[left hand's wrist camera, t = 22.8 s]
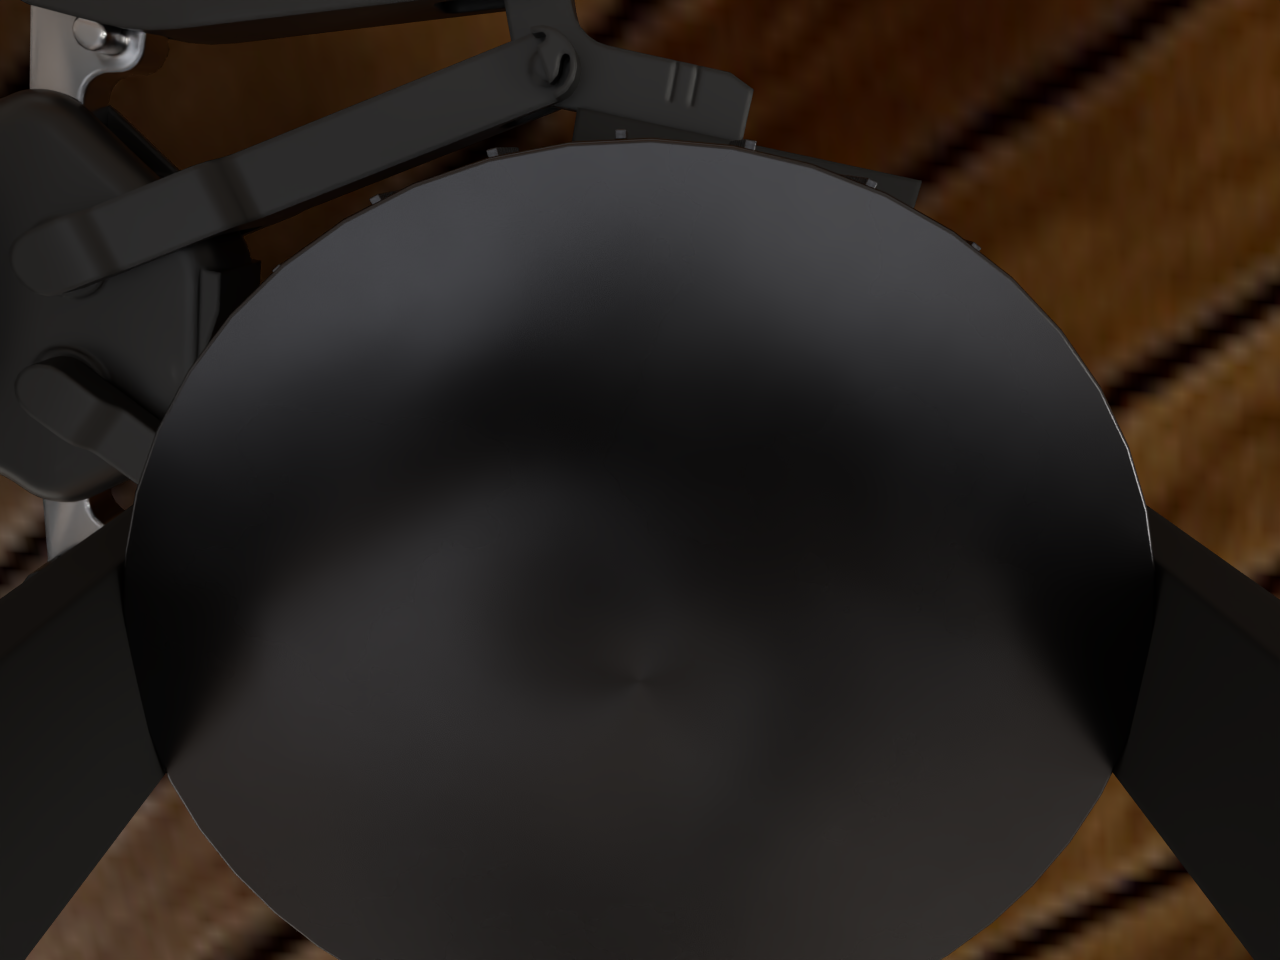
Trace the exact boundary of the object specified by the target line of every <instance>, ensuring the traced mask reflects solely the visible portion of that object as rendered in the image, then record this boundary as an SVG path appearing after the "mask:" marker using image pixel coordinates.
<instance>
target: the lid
mask: <svg viewBox="0 0 1280 960" xmlns="http://www.w3.org/2000/svg"><path fill="white" fill-rule="evenodd" d="M756 143H757V142H756V141H753V140H748V139H742V140H730V142H729V145H726V144H715V143H704V142H693V141H682V140H671V139H660V138H635V139H629V135H628V131H627V130H626V129H616V130H615V140H595V141H575V142H565V143H560V144H555V145H550V146H545V147H540V148H534V149H529V150H524V151H519V149H518V147H496V148H492V149H488V150H486V152H487V155H488V158H485V159H482V160H479V161H477V162H474V163H471V164H468V165H465V166H462V167H459V168H456V169H453V170H451V171H448V172H445V173H442V174H439V175H436V176H433V177H430V178H427V179H424V180H422V181H419V182H416V183H413V184H411V185H409V186H407V187H405V188H403V189H401V190H398V191H393V192H387V193H382V194H377V195H375V196H373V197H372V198H370V199H369V200H370V202H371V203H372V205H370V206H368V207H366V208H364V209H363V210H361V211H359V212H357V213H355V214H353V215H351V216H349V217H347V218H345V219H343V220H342V221H341V222H339V223H338V224H336V225H335V226H334V227H332V228H331V229H329V230H328V231H327V232H325V233H324V234H322V235H321V236H320V237H318V238H317V239H316V240H314V241H313V242H311V243H310V244H309V245H307V246H306V247H304V248H303V249H302V250H300V251H299V252H297V253H296V254H295V255H293V256H292V257H290V258H289V259H288V260H286V261H285V262H284V263H282V264H279V265H278V266H276V267H275V268H274V269H273V270H272V271H273V273H272V274H271V275H270V276H269V277H268V278H267V279H266V280H265V281H264V282H263V283H262V284H261V285H260V286H259V287H258V288H257V289H256V290H255V291H254V292H253V293H252V294H251V295H249V296H248V297H247V298H246V299H245V300H244V301H243V302H242V303H241V304H240V305H239V306H238V307H237V308H236V309H235V310H234V311H233V312H232V313H231V314H230V315H229V317H228V318H227V319H226V321H225V322H224V323H223V325H222V326H221V327H220V329H219V330H218V331H217V333H216V334H215V335H214V337H213V338H212V339H211V341H210V342H209V343H208V345H207V346H206V347H205V349H204V350H203V351H202V353H201V354H200V355H199V357H198V358H197V359H196V361H195V362H194V363H193V365H192V366H191V367H190V369H189V370H188V372H187V374H186V376H185V377H184V379H183V381H182V383H181V385H180V387H179V389H178V391H177V393H176V394H175V396H174V398H173V400H172V402H171V404H170V406H169V408H168V409H167V411H166V413H165V415H164V417H163V419H162V421H161V423H160V425H159V426H158V428H157V431H156V434H155V437H154V439H153V442H152V445H151V448H150V451H149V454H148V457H147V460H146V463H145V466H144V468H143V471H142V474H141V477H140V480H139V483H138V486H137V489H136V493H135V498H134V504H133V510H132V515H131V521H130V526H129V532H128V538H127V543H126V549H125V565H124V613H123V614H124V622H125V628H126V633H127V638H128V643H129V648H130V653H131V658H132V662H133V666H134V671H135V675H136V680H137V684H138V688H139V693H140V697H141V702H142V706H143V710H144V714H145V718H146V723H147V727H148V731H149V734H150V737H151V739H152V741H153V744H154V746H155V748H156V750H157V753H158V755H159V757H160V759H161V762H162V764H163V766H164V769H165V771H166V773H167V775H168V778H169V780H170V782H171V783H172V785H173V787H174V788H175V790H176V792H177V793H178V795H179V797H180V798H181V800H182V802H183V803H184V805H185V806H186V808H187V810H188V811H189V813H190V815H191V816H192V818H193V820H194V821H195V823H196V824H197V826H198V828H199V829H200V831H201V832H202V833H203V834H204V836H205V837H206V838H207V839H208V841H209V842H210V843H211V844H212V846H213V847H214V848H215V849H216V851H217V852H218V853H219V854H220V856H221V857H222V858H223V859H224V861H225V862H226V863H227V864H228V866H229V867H230V868H231V869H232V871H233V872H234V873H235V874H236V875H237V876H238V877H239V878H240V879H241V880H242V881H243V882H244V883H245V884H246V885H247V886H248V887H249V888H250V889H251V890H252V891H253V892H254V893H255V894H256V895H257V896H258V897H259V898H260V899H261V900H262V901H263V902H264V903H265V904H266V905H267V906H268V907H269V908H270V909H271V910H272V911H273V912H274V913H276V914H277V915H278V916H280V917H281V918H282V919H283V920H285V921H286V922H287V923H289V924H290V925H291V926H292V927H294V928H295V929H296V930H297V931H299V932H300V933H301V934H303V935H304V936H305V937H306V938H308V939H309V940H310V941H312V942H313V943H314V944H315V945H317V946H318V947H319V948H321V949H323V950H324V951H326V952H328V953H329V954H331V955H332V956H334V957H336V958H337V959H339V960H941V959H942V958H944V957H946V956H948V955H949V954H950V953H952V952H953V951H954V950H956V949H957V948H959V947H960V946H961V945H963V944H964V943H965V942H967V941H968V940H969V939H971V938H972V937H974V936H975V935H976V934H978V933H979V932H980V931H982V930H983V929H985V928H986V927H987V926H989V925H990V924H991V923H993V922H994V921H995V920H996V919H997V918H998V917H999V916H1000V915H1001V914H1002V913H1004V912H1005V911H1006V910H1007V909H1008V908H1009V907H1010V906H1011V905H1012V904H1013V903H1014V902H1015V901H1017V900H1018V899H1019V898H1020V897H1021V896H1022V895H1023V894H1024V893H1025V892H1026V891H1027V890H1028V889H1030V888H1031V887H1032V886H1033V885H1034V884H1035V883H1036V881H1037V880H1038V879H1039V878H1040V877H1041V876H1042V874H1043V873H1044V872H1045V871H1046V870H1047V869H1048V867H1049V866H1050V865H1051V864H1052V863H1053V862H1054V860H1055V859H1056V858H1057V857H1058V856H1059V855H1060V853H1061V852H1062V851H1063V850H1064V849H1065V848H1066V846H1067V845H1068V844H1069V843H1070V842H1071V840H1072V838H1073V837H1074V835H1075V834H1076V832H1077V831H1078V829H1079V828H1080V826H1081V825H1082V823H1083V822H1084V820H1085V819H1086V817H1087V816H1088V814H1089V813H1090V811H1091V810H1092V808H1093V807H1094V805H1095V804H1096V802H1097V801H1098V799H1099V798H1100V796H1101V794H1102V792H1103V790H1104V788H1105V786H1106V784H1107V782H1108V780H1109V778H1110V776H1111V774H1112V772H1113V770H1114V768H1115V766H1116V764H1117V762H1118V759H1119V757H1120V755H1121V753H1122V751H1123V749H1124V747H1125V745H1126V743H1127V740H1128V736H1129V733H1130V729H1131V725H1132V721H1133V717H1134V713H1135V710H1136V705H1137V701H1138V697H1139V692H1140V688H1141V683H1142V679H1143V674H1144V670H1145V666H1146V661H1147V657H1148V652H1149V647H1150V643H1151V638H1152V633H1153V628H1154V611H1155V564H1154V556H1153V549H1152V541H1151V534H1150V526H1149V519H1148V511H1147V506H1146V503H1145V500H1144V496H1143V493H1142V489H1141V486H1140V483H1139V479H1138V476H1137V472H1136V469H1135V466H1134V462H1133V459H1132V456H1131V452H1130V449H1129V446H1128V444H1127V442H1126V440H1125V437H1124V435H1123V433H1122V431H1121V429H1120V427H1119V425H1118V423H1117V421H1116V419H1115V416H1114V414H1113V412H1112V410H1111V408H1110V406H1109V404H1108V402H1107V400H1106V397H1105V395H1104V393H1103V391H1102V389H1101V387H1100V385H1099V384H1098V382H1097V381H1096V380H1095V378H1094V377H1093V375H1092V374H1091V372H1090V371H1089V369H1088V368H1087V366H1086V365H1085V363H1084V362H1083V361H1082V359H1081V358H1080V356H1079V355H1078V353H1077V352H1076V350H1075V349H1074V347H1073V346H1072V344H1071V343H1070V342H1069V340H1068V339H1067V337H1066V336H1065V334H1064V333H1063V331H1062V330H1061V329H1060V328H1059V327H1058V326H1057V324H1056V323H1055V322H1054V321H1053V320H1052V319H1051V318H1050V317H1049V316H1048V315H1047V314H1046V313H1045V312H1044V311H1043V310H1042V308H1041V307H1040V306H1039V305H1038V304H1037V303H1036V302H1035V301H1034V300H1033V299H1032V298H1031V297H1030V296H1029V295H1028V294H1027V293H1026V291H1025V290H1024V289H1023V288H1022V287H1021V286H1020V285H1019V284H1018V283H1017V282H1016V281H1015V280H1014V279H1013V278H1012V277H1011V276H1010V275H1009V274H1007V273H1006V272H1005V271H1004V270H1002V269H1001V268H1000V267H999V266H997V265H996V264H995V263H993V262H992V261H991V260H990V259H988V258H987V257H986V256H985V255H983V254H982V253H981V252H979V251H980V250H981V247H979V246H978V245H977V244H976V243H974V242H971V241H968V240H964V239H963V238H962V237H960V236H959V235H958V234H957V233H955V232H954V231H952V230H951V229H949V228H947V227H945V226H944V225H942V224H940V223H938V222H937V221H935V220H933V219H931V218H930V217H928V216H926V215H924V214H923V213H921V212H919V211H917V210H916V209H914V208H912V207H910V206H909V205H907V204H905V203H903V202H902V201H900V200H898V199H896V198H895V197H893V196H891V195H889V194H888V193H886V192H883V191H881V190H878V189H875V188H876V186H877V184H878V182H876V181H874V180H872V179H870V178H864V177H856V176H849V175H842V174H837V173H835V172H832V171H829V170H827V169H824V168H822V167H819V166H817V165H814V164H811V163H807V162H803V161H798V160H794V159H790V158H786V157H781V156H777V155H773V154H769V153H764V152H760V151H756V150H755V147H756Z"/></svg>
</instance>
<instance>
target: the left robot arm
mask: <svg viewBox="0 0 1280 960" xmlns="http://www.w3.org/2000/svg"><path fill="white" fill-rule="evenodd" d="M1146 506H1147V505H1146ZM132 510H133V505H132V506H131V507H129V508H128V509H127V510H125V511H124V512H122V513H121V514H119V515H118V516H117V517H115V518H114V519H112V520H111V521H110V522H108V523H107V524H105V525H104V526H103V527H101V528H100V529H98V530H97V531H95V532H94V533H93V534H91V535H90V536H88V537H87V538H86V539H84V540H83V541H81V542H80V543H79V544H77V545H76V546H74V547H73V548H71V549H70V550H69V551H67V552H66V553H64V554H63V555H62V556H60V557H59V558H57V559H56V560H55V561H53V562H52V563H50V564H49V565H48V566H46V567H45V568H43V569H42V570H40V571H39V572H38V573H36V574H35V575H33V576H32V577H31V578H29V579H28V580H26V581H25V582H24V583H22V584H21V585H19V586H18V587H16V588H15V589H14V590H12V591H11V592H9V593H8V594H7V595H5V596H4V597H2V598H1V599H0V960H25V959H26V957H27V956H28V955H29V953H30V952H31V951H32V950H33V948H34V947H35V946H36V944H37V943H38V942H39V940H40V939H41V938H42V936H43V935H44V934H45V932H46V931H47V930H48V928H49V927H50V926H51V924H52V923H53V922H54V920H55V919H56V918H57V916H58V915H59V914H60V912H61V911H62V910H63V908H64V907H65V906H66V904H67V903H68V902H69V900H70V899H71V898H72V897H73V895H74V894H75V893H76V891H77V890H78V889H79V887H80V886H81V885H82V883H83V882H84V881H85V879H86V878H87V877H88V875H89V874H90V873H91V871H92V870H93V869H94V867H95V866H96V865H97V863H98V862H99V861H100V859H101V858H102V857H103V855H104V854H105V853H106V851H107V850H108V849H109V848H110V846H111V845H112V844H113V842H114V841H115V840H116V838H117V837H118V836H119V834H120V833H121V832H122V830H123V829H124V828H125V826H126V825H127V824H128V822H129V821H130V820H131V818H132V817H133V816H134V814H135V813H136V812H137V810H138V809H139V808H140V806H141V805H142V804H143V802H144V801H145V800H146V798H147V797H148V796H149V795H150V793H151V792H152V791H153V789H154V788H155V787H156V785H157V784H158V783H159V781H160V780H161V779H162V777H163V776H164V775H165V773H166V771H165V769H164V766H163V764H162V762H161V759H160V757H159V755H158V753H157V750H156V748H155V746H154V744H153V741H152V739H151V737H150V734H149V731H148V727H147V723H146V718H145V714H144V710H143V706H142V702H141V697H140V693H139V688H138V684H137V680H136V675H135V671H134V666H133V662H132V658H131V653H130V648H129V643H128V638H127V633H126V628H125V622H124V614H123V613H124V565H125V549H126V543H127V538H128V532H129V526H130V521H131V515H132ZM1147 511H1148V519H1149V526H1150V534H1151V541H1152V549H1153V556H1154V564H1155V611H1154V628H1153V633H1152V638H1151V643H1150V647H1149V652H1148V657H1147V661H1146V666H1145V670H1144V674H1143V679H1142V683H1141V688H1140V692H1139V697H1138V701H1137V705H1136V710H1135V713H1134V717H1133V721H1132V725H1131V729H1130V733H1129V736H1128V740H1127V743H1126V745H1125V747H1124V749H1123V751H1122V753H1121V755H1120V757H1119V759H1118V762H1117V764H1116V766H1115V768H1114V770H1113V773H1114V775H1115V776H1116V777H1117V779H1118V780H1119V781H1120V783H1121V784H1122V785H1123V787H1124V788H1125V789H1126V791H1127V792H1128V793H1129V795H1130V796H1131V797H1132V799H1133V800H1134V801H1135V802H1136V804H1137V805H1138V806H1139V808H1140V809H1141V810H1142V812H1143V813H1144V814H1145V816H1146V817H1147V818H1148V820H1149V821H1150V822H1151V824H1152V825H1153V826H1154V828H1155V829H1156V830H1157V832H1158V833H1159V834H1160V836H1161V837H1162V838H1163V840H1164V841H1165V842H1166V844H1167V845H1168V846H1169V848H1170V849H1171V850H1172V852H1173V853H1174V854H1175V855H1176V857H1177V858H1178V859H1179V861H1180V862H1181V863H1182V865H1183V866H1184V867H1185V869H1186V870H1187V871H1188V873H1189V874H1190V875H1191V877H1192V878H1193V879H1194V881H1195V882H1196V883H1197V885H1198V886H1199V887H1200V889H1201V890H1202V891H1203V893H1204V894H1205V895H1206V897H1207V898H1208V899H1209V901H1210V902H1211V903H1212V905H1213V906H1214V907H1215V908H1216V910H1217V911H1218V912H1219V914H1220V915H1221V916H1222V918H1223V919H1224V920H1225V922H1226V923H1227V924H1228V926H1229V927H1230V928H1231V930H1232V931H1233V932H1234V934H1235V935H1236V936H1237V938H1238V939H1239V940H1240V942H1241V943H1242V944H1243V946H1244V947H1245V948H1246V950H1247V951H1248V952H1249V954H1250V955H1251V956H1252V958H1253V959H1254V960H1280V600H1279V599H1278V598H1277V597H1275V596H1274V595H1272V594H1271V593H1269V592H1268V591H1267V590H1265V589H1264V588H1262V587H1261V586H1260V585H1258V584H1257V583H1255V582H1254V581H1253V580H1251V579H1250V578H1248V577H1247V576H1245V575H1244V574H1243V573H1241V572H1240V571H1238V570H1237V569H1236V568H1234V567H1233V566H1231V565H1230V564H1229V563H1227V562H1226V561H1224V560H1223V559H1222V558H1220V557H1219V556H1217V555H1216V554H1214V553H1213V552H1212V551H1210V550H1209V549H1207V548H1206V547H1205V546H1203V545H1202V544H1200V543H1199V542H1198V541H1196V540H1195V539H1193V538H1192V537H1190V536H1189V535H1188V534H1186V533H1185V532H1183V531H1182V530H1181V529H1179V528H1178V527H1176V526H1175V525H1174V524H1172V523H1171V522H1169V521H1168V520H1167V519H1165V518H1164V517H1162V516H1161V515H1159V514H1158V513H1157V512H1155V511H1154V510H1152V509H1151V508H1150V507H1148V506H1147Z"/></svg>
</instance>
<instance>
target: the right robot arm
mask: <svg viewBox="0 0 1280 960" xmlns="http://www.w3.org/2000/svg"><path fill="white" fill-rule="evenodd" d="M21 1H23V2H25V3H27V4H29V5H31V35H30V89H27V90H22V91H19V92H16V93H13V94H11V95H9V96H6V97H4V98H1V99H0V474H1V475H3V476H5V477H7V478H8V479H10V480H12V481H13V482H15V483H16V484H18V485H19V486H21V487H22V488H24V489H25V490H27V491H28V492H30V493H32V494H34V495H36V496H38V497H40V498H43V505H44V517H45V528H46V540H47V552H48V561H47V563H45V564H44V565H43V566H41V567H40V568H38V569H37V570H35V571H34V572H33V573H31V574H30V575H28V577H27V578H26V579H25V581H26V580H28V579H29V578H31V577H32V576H33V575H35V574H36V573H38V572H39V571H40V570H42V569H43V568H45V567H46V566H48V565H49V564H50V563H52V562H53V561H55V560H56V559H57V558H59V557H60V556H62V555H63V554H64V553H66V552H67V551H69V550H70V549H71V548H73V547H74V546H76V545H77V544H79V543H80V542H81V541H83V540H84V539H86V538H87V537H88V536H90V535H91V534H93V533H94V532H95V531H97V530H98V529H100V528H101V527H103V526H104V525H105V524H107V523H108V522H110V521H111V520H112V519H114V518H115V517H117V516H118V515H119V514H121V513H122V512H124V511H125V510H124V509H122V508H121V507H120V506H119V505H118V504H117V503H116V502H115V500H114V498H113V496H112V493H111V489H110V488H112V487H114V486H116V485H119V484H121V483H123V482H125V481H127V480H129V479H131V480H132V481H133V482H135V483H136V484H137V485H138V483H139V480H140V477H141V474H142V471H143V468H144V466H145V463H146V460H147V457H148V454H149V451H150V448H151V445H152V442H153V439H154V437H155V434H156V431H157V428H158V426H159V425H160V423H161V421H162V419H163V417H164V415H165V413H166V411H167V409H168V408H169V406H170V404H171V402H172V400H173V398H174V396H175V394H176V393H177V391H178V389H179V387H180V385H181V383H182V381H183V379H184V377H185V376H186V374H187V372H188V370H189V369H190V367H191V366H192V365H193V363H194V362H195V361H196V359H197V358H198V357H199V355H200V354H201V353H202V351H203V350H204V349H205V347H206V346H207V345H208V343H209V342H210V341H211V339H212V338H213V337H214V335H215V334H216V333H217V331H218V330H219V329H220V327H221V326H222V325H223V323H224V322H225V321H226V319H227V318H228V317H229V315H230V314H231V313H232V312H233V311H234V310H235V309H236V308H237V307H238V306H239V305H240V304H241V303H242V302H243V301H244V300H245V299H246V298H247V297H248V296H249V295H251V294H252V293H253V292H254V291H255V290H256V289H257V288H258V287H259V286H260V268H261V261H260V260H255V259H251V257H250V253H249V250H248V247H247V244H246V242H245V240H244V238H243V236H244V235H247V234H249V233H252V232H254V231H257V230H259V229H262V228H265V227H267V226H270V225H272V224H275V223H277V222H280V221H282V220H285V219H287V218H290V217H292V216H295V215H297V214H299V213H300V212H302V211H304V210H306V209H309V208H311V207H314V206H316V205H319V204H322V203H324V202H327V201H329V200H332V199H334V198H337V197H339V196H342V195H344V194H347V193H350V192H352V191H355V190H357V189H360V188H362V187H365V186H367V185H370V184H372V183H375V182H378V181H380V180H383V179H385V178H388V177H390V176H393V175H395V174H398V173H400V172H403V171H406V170H408V169H411V168H413V167H416V166H418V165H421V164H423V163H426V162H428V161H431V160H434V159H436V158H439V157H441V156H444V155H446V154H449V153H451V152H454V151H456V150H459V149H462V148H464V147H467V146H469V145H472V144H474V143H477V142H479V141H482V140H484V139H487V138H490V137H492V136H495V135H497V134H500V133H502V132H505V131H507V130H510V129H512V128H515V127H518V126H520V125H523V124H525V123H528V122H530V121H533V120H535V119H538V118H540V117H543V116H546V115H548V114H551V113H553V112H556V111H558V110H561V109H564V110H569V111H574V112H577V114H576V120H575V127H574V133H573V139H572V142H575V141H595V140H615V130H616V129H626V130H627V131H628V135H629V139H635V138H660V139H671V140H682V141H693V142H704V143H715V144H726V145H729V142H730V140H742V139H743V135H744V130H745V126H746V121H747V117H748V112H749V108H750V103H751V99H752V94H753V89H752V88H751V87H749V86H748V85H746V84H745V83H744V82H742V81H741V80H740V79H738V78H737V77H735V76H734V75H733V74H731V73H730V72H726V71H721V70H716V69H712V68H707V67H703V66H697V65H694V64H689V63H684V62H679V61H675V60H671V59H666V58H662V57H657V56H653V55H648V54H643V53H639V52H634V51H630V50H625V49H621V48H616V47H612V46H607V45H604V44H602V43H599V42H597V41H595V40H594V39H592V38H591V37H589V36H588V35H587V34H586V33H585V32H584V31H583V29H582V28H581V27H580V25H579V22H578V18H577V14H576V8H575V1H574V0H21ZM503 11H506V14H507V20H508V25H509V31H510V36H511V42H508V43H506V44H503V45H501V46H498V47H496V48H494V49H491V50H489V51H486V52H484V53H481V54H479V55H476V56H474V57H471V58H469V59H466V60H464V61H461V62H459V63H457V64H454V65H452V66H449V67H447V68H444V69H442V70H439V71H437V72H434V73H432V74H429V75H427V76H424V77H422V78H420V79H417V80H415V81H412V82H410V83H407V84H405V85H402V86H400V87H397V88H395V89H392V90H390V91H387V92H385V93H382V94H380V95H378V96H375V97H373V98H370V99H368V100H365V101H363V102H360V103H358V104H355V105H353V106H350V107H348V108H345V109H343V110H341V111H338V112H336V113H333V114H331V115H328V116H326V117H323V118H321V119H318V120H316V121H313V122H311V123H308V124H306V125H304V126H301V127H299V128H296V129H294V130H291V131H289V132H286V133H284V134H281V135H279V136H276V137H274V138H271V139H269V140H267V141H264V142H262V143H259V144H257V145H254V146H252V147H249V148H247V149H244V150H242V151H239V152H237V153H234V154H232V155H229V156H226V157H222V158H218V159H214V160H210V161H207V162H203V163H200V164H197V165H194V166H192V167H189V168H186V169H184V170H181V171H180V170H179V169H178V168H177V167H176V166H175V165H174V164H172V163H171V162H170V161H169V160H168V159H167V158H166V157H165V156H164V155H163V154H162V153H161V152H160V151H159V150H158V149H157V148H156V147H155V146H154V145H153V144H152V143H151V142H149V141H148V140H147V139H146V138H145V137H144V136H143V135H142V134H141V133H140V132H139V131H138V130H137V129H136V128H135V127H134V126H133V125H132V124H131V123H130V122H129V121H128V120H127V119H125V118H124V117H123V116H122V115H121V114H120V113H119V112H118V111H117V110H116V109H114V108H113V107H112V106H110V105H109V98H110V93H111V91H112V89H113V87H114V86H115V84H116V83H118V82H119V81H120V80H121V79H123V78H126V77H128V76H146V75H150V74H152V73H155V72H156V71H157V70H159V69H160V68H161V67H162V65H163V63H164V61H165V60H166V57H167V56H168V53H169V44H168V39H172V40H177V41H182V42H187V43H198V44H211V45H212V44H231V43H241V42H250V41H258V40H267V39H275V38H284V37H292V36H300V35H309V34H317V33H326V32H334V31H343V30H351V29H359V28H368V27H376V26H385V25H393V24H401V23H410V22H418V21H427V20H435V19H444V18H452V17H460V16H469V15H477V14H486V13H494V12H503ZM755 150H756V151H760V152H764V153H769V154H773V155H777V156H781V157H786V158H790V159H794V160H798V161H803V162H807V163H811V164H814V165H817V166H819V167H822V168H824V169H827V170H829V171H832V172H835V173H837V174H842V175H849V176H856V177H864V178H870V179H872V180H874V181H876V182H878V184H877V186H876V188H875V189H878V190H881V191H883V192H886V193H888V194H889V195H891V196H893V197H895V198H896V199H898V200H900V201H902V202H903V203H905V204H907V205H909V206H910V207H912V208H914V206H915V203H916V199H917V196H918V192H919V189H920V185H921V182H922V181H920V180H915V179H910V178H906V177H901V176H896V175H892V174H887V173H882V172H878V171H873V170H868V169H864V168H859V167H854V166H850V165H845V164H840V163H836V162H831V161H826V160H822V159H817V158H812V157H808V156H803V155H798V154H794V153H789V152H784V151H780V150H775V149H770V148H766V147H761V146H756V147H755ZM25 581H24V582H25ZM24 582H23V583H24Z"/></svg>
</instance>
